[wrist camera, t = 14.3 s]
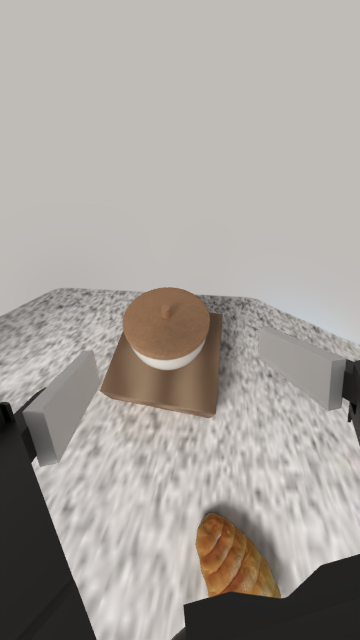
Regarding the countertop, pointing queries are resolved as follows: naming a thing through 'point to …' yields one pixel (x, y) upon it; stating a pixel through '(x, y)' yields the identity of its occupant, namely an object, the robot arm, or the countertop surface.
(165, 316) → the lidded jar
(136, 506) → the countertop surface
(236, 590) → the pastry
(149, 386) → the walnut box
